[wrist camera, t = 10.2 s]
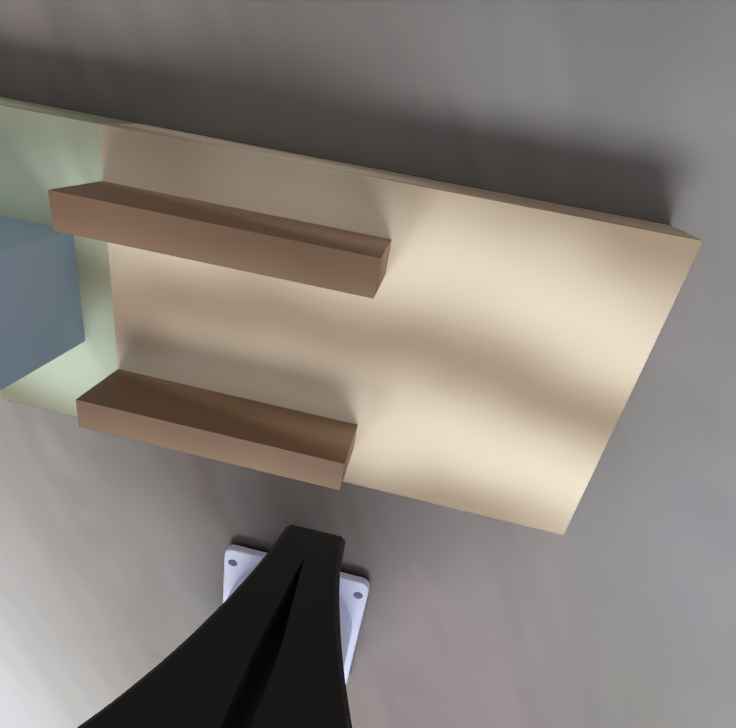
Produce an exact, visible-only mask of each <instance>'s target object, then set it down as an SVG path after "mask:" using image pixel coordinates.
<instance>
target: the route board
mask: <svg viewBox="0 0 736 728" xmlns="http://www.w3.org/2000/svg"><path fill="white" fill-rule="evenodd" d="M0 216H5V217H10V218H14V219H19V220H24V221H28V222H33V223H38V224H43V225H47V226H52V227H53V231H57V232H62V233H67V234H71V235H73V237H74V246H75V254H76V263H77V272H78V281H79V290H80V298H81V307H82V316H83V325H84V334H85V342H83V343H81V344H79V345H78V346H76V347H74V348H73V349H71V350H69V351H67V352H66V353H64V354H62V355H61V356H59V357H57V358H55V359H54V360H52V361H50V362H49V363H47V364H45V365H43V366H42V367H40V368H38V369H37V370H35V371H33V372H31V373H30V374H28V375H26V376H25V377H23V378H21V379H19V380H18V381H16V382H14V383H13V384H11V385H9V386H7V387H6V388H4V389H2V390H0V399H4V400H8V401H13V402H17V403H21V404H25V405H29V406H33V407H37V408H41V409H46V410H50V411H54V412H58V413H62V414H66V415H70V416H74V417H78V422H79V427H82V428H86V429H90V430H95V431H99V432H103V433H107V434H111V435H115V436H119V437H123V438H127V439H131V440H135V441H140V442H144V443H148V444H152V445H156V446H160V447H164V448H168V449H172V450H176V451H181V452H185V453H189V454H193V455H197V456H201V457H205V458H209V459H213V460H217V461H222V462H226V463H230V464H234V465H238V466H242V467H246V468H250V469H254V470H258V471H263V472H267V473H271V474H275V475H279V476H283V477H287V478H291V479H295V480H299V481H304V482H308V483H312V484H316V485H320V486H324V487H328V488H332V489H336V490H340V488H341V485H342V482H347V483H351V484H355V485H359V486H363V487H367V488H371V489H376V490H380V491H384V492H388V493H392V494H396V495H400V496H404V497H409V498H413V499H417V500H421V501H425V502H429V503H433V504H437V505H442V506H446V507H450V508H454V509H458V510H462V511H466V512H470V513H475V514H479V515H483V516H487V517H491V518H495V519H499V520H503V521H508V522H512V523H516V524H520V525H524V526H528V527H532V528H536V529H541V530H545V531H549V532H553V533H557V534H561V535H564V533H565V531H566V529H567V526H568V524H569V522H570V520H571V518H572V516H573V514H574V512H575V510H576V507H577V505H578V503H579V501H580V499H581V497H582V495H583V493H584V491H585V489H586V486H587V484H588V482H589V480H590V478H591V476H592V474H593V472H594V470H595V468H596V465H597V463H598V461H599V459H600V457H601V455H602V453H603V451H604V449H605V446H606V444H607V442H608V440H609V438H610V436H611V434H612V432H613V430H614V428H615V425H616V423H617V421H618V419H619V417H620V415H621V413H622V411H623V409H624V407H625V404H626V402H627V400H628V398H629V396H630V394H631V392H632V390H633V388H634V385H635V383H636V381H637V379H638V377H639V375H640V373H641V371H642V369H643V367H644V364H645V362H646V360H647V358H648V356H649V354H650V352H651V350H652V348H653V345H654V343H655V341H656V339H657V337H658V335H659V333H660V331H661V329H662V327H663V324H664V322H665V320H666V318H667V316H668V314H669V312H670V310H671V308H672V306H673V303H674V301H675V299H676V297H677V295H678V293H679V291H680V289H681V287H682V284H683V282H684V280H685V278H686V276H687V274H688V272H689V270H690V268H691V266H692V263H693V261H694V259H695V257H696V255H697V253H698V251H699V249H700V247H701V245H702V242H703V241H702V240H700V239H698V238H696V237H694V236H692V235H689V234H687V233H685V232H683V231H681V230H679V229H677V228H675V227H673V226H671V225H666V224H661V223H656V222H650V221H645V220H640V219H635V218H630V217H624V216H619V215H614V214H609V213H604V212H598V211H593V210H588V209H583V208H578V207H572V206H567V205H562V204H557V203H552V202H546V201H541V200H536V199H531V198H526V197H520V196H515V195H510V194H505V193H499V192H494V191H489V190H484V189H479V188H473V187H468V186H463V185H458V184H453V183H447V182H442V181H437V180H432V179H427V178H421V177H416V176H411V175H406V174H401V173H395V172H390V171H385V170H380V169H375V168H369V167H364V166H359V165H354V164H348V163H343V162H338V161H333V160H328V159H322V158H317V157H312V156H307V155H302V154H296V153H291V152H286V151H281V150H276V149H270V148H265V147H260V146H255V145H250V144H244V143H239V142H234V141H229V140H224V139H218V138H213V137H208V136H203V135H198V134H192V133H187V132H182V131H177V130H171V129H166V128H161V127H156V126H151V125H145V124H140V123H135V122H130V121H125V120H119V119H114V118H109V117H104V116H99V115H93V114H88V113H83V112H78V111H73V110H67V109H62V108H57V107H52V106H47V105H41V104H36V103H31V102H26V101H20V100H15V99H10V98H5V97H0Z"/></svg>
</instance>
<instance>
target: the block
mask: <svg viewBox="0 0 736 728" xmlns="http://www.w3.org/2000/svg"><path fill="white" fill-rule="evenodd" d="M83 342H85V334H84V325H83V316H82V307H81V298H80V290H79V281H78V272H77V263H76V254H75V246H74V237H73V235H71V234H67V233H62V232H57V231H53V227H52V226H47V225H43V224H38V223H33V222H28V221H24V220H19V219H14V218H10V217H5V216H0V390H2V389H4V388H6V387H7V386H9V385H11V384H13V383H14V382H16V381H18V380H19V379H21V378H23V377H25V376H26V375H28V374H30V373H31V372H33V371H35V370H37V369H38V368H40V367H42V366H43V365H45V364H47V363H49V362H50V361H52V360H54V359H55V358H57V357H59V356H61V355H62V354H64V353H66V352H67V351H69V350H71V349H73V348H74V347H76V346H78V345H79V344H81V343H83Z"/></svg>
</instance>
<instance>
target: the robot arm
mask: <svg viewBox="0 0 736 728" xmlns="http://www.w3.org/2000/svg"><path fill="white" fill-rule="evenodd" d="M344 546H345V540H344V539H343V538H342V537H341V536H337V535H333V534H328V533H324V532H320V531H316V530H311V529H307V528H303V527H298V526H294V525H290V526H288V527H286V528H285V530H284V531H283V533H282V534H281V535H280V537H279V538H278V540H277V541H276V542H275V544H274V545H273V546H272V548H271V549H270V550H269V551H268V553H266V552H262V551H258V550H254V549H250V548H246V547H242V546H238V545H230V546H228V547H227V549H226V551H225V558H224V584H223V604H222V605H221V606H220V607H219V608H218V609H217V610H216V611H215V612H214V613H213V614H212V615H211V616H210V617H209V618H208V619H207V620H206V621H205V622H204V623H203V624H202V625H201V626H200V627H199V628H198V629H197V630H196V631H195V632H194V633H193V634H192V635H191V636H190V637H189V638H188V639H186V640H185V641H184V642H183V643H182V644H181V645H180V646H179V647H178V648H177V649H176V650H174V651H173V652H172V653H171V654H170V655H169V656H168V657H166V658H165V659H164V660H163V661H162V662H161V663H160V664H159V665H157V666H156V667H155V668H154V669H153V670H151V671H150V672H149V673H148V674H146V675H145V676H144V677H143V678H142V679H140V680H139V681H138V682H137V683H135V684H134V685H133V686H132V687H131V688H129V689H128V690H127V691H126V692H124V693H123V694H122V695H121V696H119V697H118V698H117V699H115V700H114V701H113V702H112V703H110V704H109V705H108V706H106V707H105V708H104V709H102V710H101V711H100V712H98V713H97V714H95V715H94V716H93V717H91V718H90V719H89V720H87V721H86V722H84V723H83V724H82V725H80V726H79V727H77V728H352V724H351V718H350V711H349V705H348V698H347V691H346V683H347V679H348V675H349V671H350V667H351V662H352V658H353V654H354V650H355V646H356V642H357V638H358V633H359V629H360V625H361V621H362V617H363V613H364V609H365V604H366V600H367V596H368V592H369V587H370V583H369V582H368V580H366V579H365V578H363V577H359V576H355V575H351V574H347V573H344V572H340V570H341V564H342V558H343V552H344ZM359 592H360V593H359Z"/></svg>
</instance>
